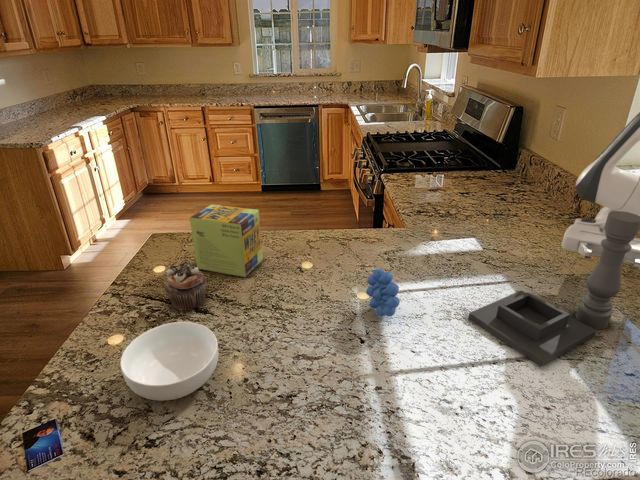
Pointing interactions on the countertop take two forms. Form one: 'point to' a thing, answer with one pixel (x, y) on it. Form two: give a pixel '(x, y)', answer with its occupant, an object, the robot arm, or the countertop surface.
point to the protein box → (227, 239)
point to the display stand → (532, 326)
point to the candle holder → (608, 269)
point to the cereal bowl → (170, 360)
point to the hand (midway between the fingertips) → (611, 260)
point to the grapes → (383, 293)
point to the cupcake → (185, 287)
